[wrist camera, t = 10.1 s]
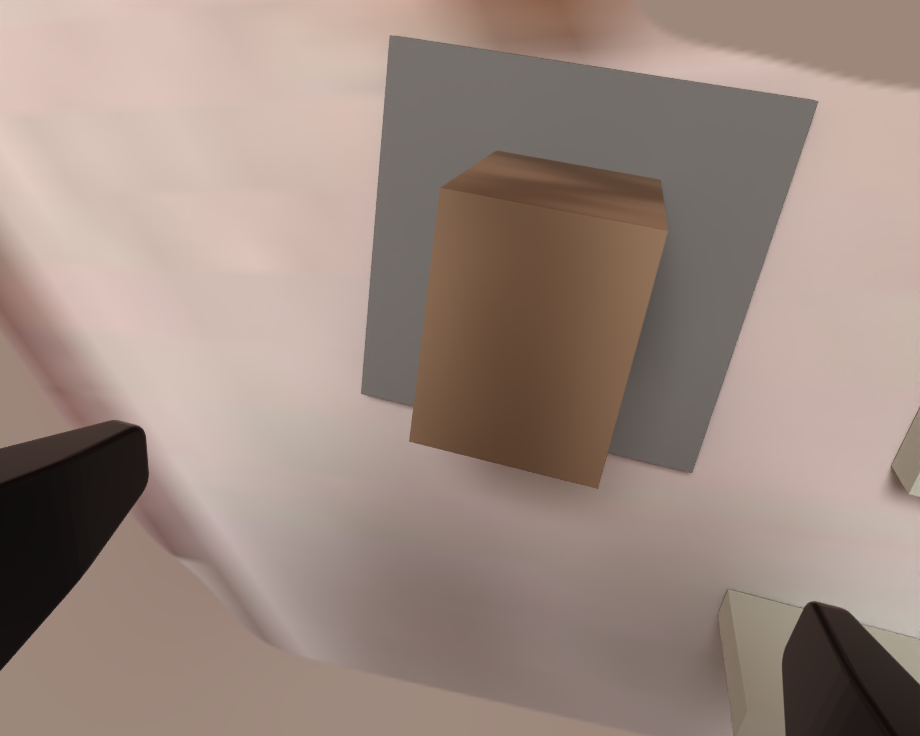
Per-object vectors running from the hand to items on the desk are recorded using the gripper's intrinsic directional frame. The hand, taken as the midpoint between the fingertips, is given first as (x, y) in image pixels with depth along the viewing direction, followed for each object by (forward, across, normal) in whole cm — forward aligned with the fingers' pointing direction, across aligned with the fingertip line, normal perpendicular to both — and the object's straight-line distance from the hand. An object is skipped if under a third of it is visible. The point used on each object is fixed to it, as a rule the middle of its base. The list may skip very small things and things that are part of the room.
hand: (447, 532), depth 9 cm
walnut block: (+12, 0, 0) cm, 12 cm away
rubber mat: (+13, 0, 0) cm, 13 cm away
